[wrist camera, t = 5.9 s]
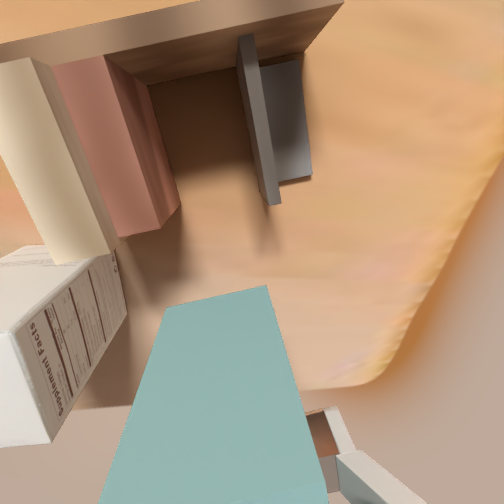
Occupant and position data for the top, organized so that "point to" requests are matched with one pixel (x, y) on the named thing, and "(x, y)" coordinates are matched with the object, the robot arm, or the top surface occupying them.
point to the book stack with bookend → (144, 112)
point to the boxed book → (217, 413)
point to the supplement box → (51, 337)
